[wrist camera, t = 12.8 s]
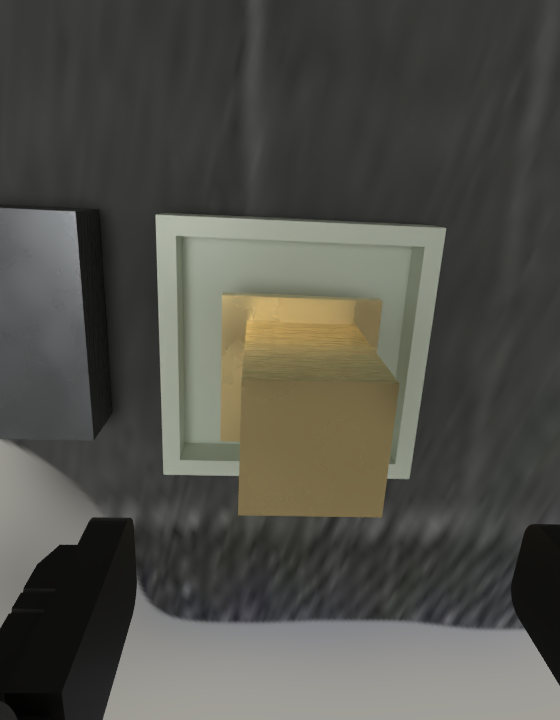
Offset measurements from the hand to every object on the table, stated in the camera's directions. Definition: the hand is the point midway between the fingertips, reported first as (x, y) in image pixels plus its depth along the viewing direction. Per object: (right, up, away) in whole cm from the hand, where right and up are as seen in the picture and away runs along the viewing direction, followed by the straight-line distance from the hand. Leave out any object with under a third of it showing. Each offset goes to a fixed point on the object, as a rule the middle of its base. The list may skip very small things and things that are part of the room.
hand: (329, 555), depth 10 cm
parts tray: (0, +5, +15) cm, 15 cm away
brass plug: (0, +5, +14) cm, 15 cm away
